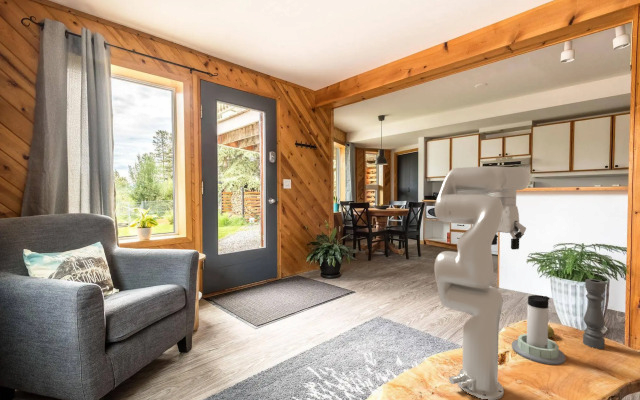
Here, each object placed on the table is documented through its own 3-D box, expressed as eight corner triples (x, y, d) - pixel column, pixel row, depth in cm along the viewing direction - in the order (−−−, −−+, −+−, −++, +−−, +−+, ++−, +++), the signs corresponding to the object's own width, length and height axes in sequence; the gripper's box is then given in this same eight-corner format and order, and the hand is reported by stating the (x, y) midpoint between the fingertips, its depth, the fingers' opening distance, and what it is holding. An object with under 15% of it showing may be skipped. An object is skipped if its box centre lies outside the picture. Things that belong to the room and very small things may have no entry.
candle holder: (604, 344, 118) (606, 280, 117) (604, 350, 113) (606, 284, 113) (583, 339, 122) (584, 277, 121) (582, 345, 118) (584, 281, 117)
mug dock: (542, 368, 103) (542, 356, 102) (501, 344, 118) (502, 334, 118) (576, 360, 107) (577, 349, 107) (533, 339, 122) (533, 329, 122)
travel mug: (552, 355, 109) (553, 300, 108) (531, 353, 110) (532, 298, 109) (542, 346, 115) (544, 294, 114) (523, 344, 116) (524, 293, 115)
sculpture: (529, 325, 126) (531, 319, 132) (529, 335, 126) (531, 328, 132) (553, 331, 121) (554, 325, 127) (553, 341, 121) (554, 334, 127)
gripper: (478, 201, 123) (478, 243, 124) (517, 203, 107) (516, 251, 107) (493, 201, 126) (492, 242, 126) (533, 203, 109) (532, 250, 109)
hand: (503, 246), depth 117 cm, fingers open, 9 cm apart
